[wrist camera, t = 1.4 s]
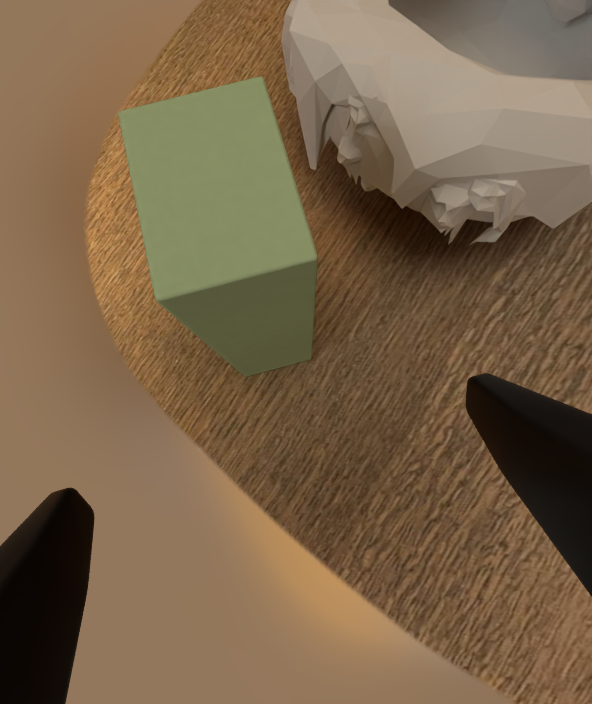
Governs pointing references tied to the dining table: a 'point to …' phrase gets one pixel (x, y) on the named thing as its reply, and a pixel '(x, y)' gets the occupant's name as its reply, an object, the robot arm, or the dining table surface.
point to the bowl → (450, 103)
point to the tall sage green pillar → (225, 223)
